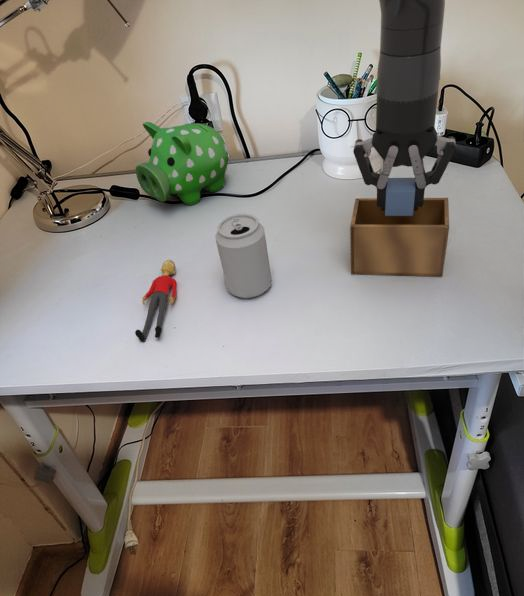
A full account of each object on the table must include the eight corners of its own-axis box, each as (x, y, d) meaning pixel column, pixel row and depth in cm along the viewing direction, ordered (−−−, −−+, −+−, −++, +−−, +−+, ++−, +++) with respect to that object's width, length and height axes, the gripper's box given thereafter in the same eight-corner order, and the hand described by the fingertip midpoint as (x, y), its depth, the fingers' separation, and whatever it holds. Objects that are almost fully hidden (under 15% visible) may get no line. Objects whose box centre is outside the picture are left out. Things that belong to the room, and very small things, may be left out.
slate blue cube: (413, 201, 77) (415, 177, 74) (412, 216, 74) (415, 191, 71) (386, 201, 78) (387, 177, 75) (384, 216, 75) (386, 191, 72)
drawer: (442, 277, 78) (441, 230, 87) (449, 227, 72) (447, 181, 80) (350, 274, 82) (358, 229, 90) (350, 226, 76) (358, 183, 84)
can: (233, 306, 80) (218, 243, 72) (223, 279, 86) (208, 217, 77) (278, 293, 81) (268, 229, 73) (265, 267, 86) (255, 205, 78)
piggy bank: (140, 201, 109) (116, 132, 98) (206, 167, 116) (191, 98, 105) (178, 223, 100) (156, 150, 90) (246, 184, 107) (234, 112, 97)
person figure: (129, 321, 75) (155, 249, 87) (130, 339, 77) (155, 267, 90) (164, 327, 75) (185, 254, 87) (163, 345, 78) (183, 272, 90)
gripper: (347, 102, 63) (349, 221, 75) (469, 95, 59) (450, 222, 72) (353, 79, 68) (354, 195, 80) (466, 72, 64) (449, 194, 77)
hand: (399, 207), depth 76 cm, fingers closed on slate blue cube, 4 cm apart
